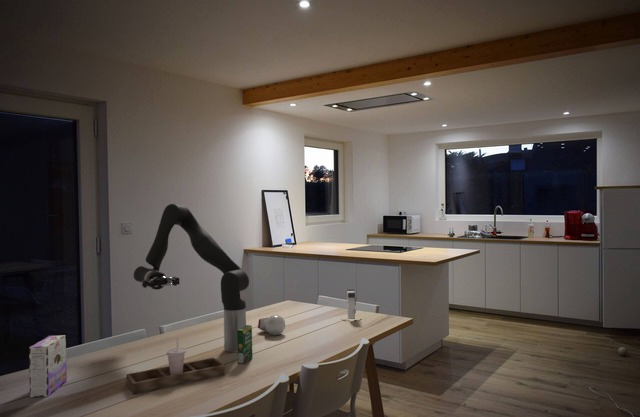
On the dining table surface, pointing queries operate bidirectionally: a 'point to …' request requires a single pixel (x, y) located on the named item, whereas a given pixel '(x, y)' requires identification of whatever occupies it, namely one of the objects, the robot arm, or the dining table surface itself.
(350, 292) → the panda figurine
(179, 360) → the smoothie
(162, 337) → the dining table surface
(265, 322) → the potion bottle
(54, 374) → the candy box
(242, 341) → the coffee box
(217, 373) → the tray
